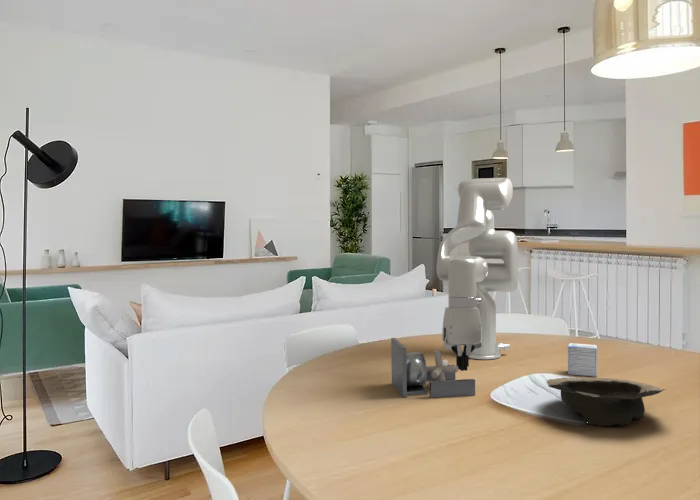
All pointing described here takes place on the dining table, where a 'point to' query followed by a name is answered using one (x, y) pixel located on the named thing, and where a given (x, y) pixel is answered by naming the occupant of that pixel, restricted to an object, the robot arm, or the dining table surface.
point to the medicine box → (582, 359)
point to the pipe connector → (440, 367)
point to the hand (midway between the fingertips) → (462, 369)
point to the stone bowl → (604, 398)
